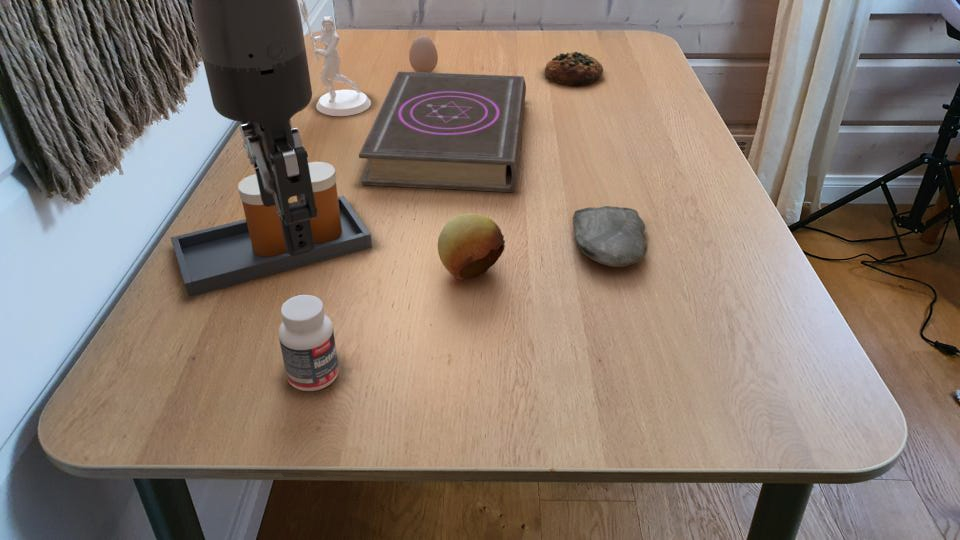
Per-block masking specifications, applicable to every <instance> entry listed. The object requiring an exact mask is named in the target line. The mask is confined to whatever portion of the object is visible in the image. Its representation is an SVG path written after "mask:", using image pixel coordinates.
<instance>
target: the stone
mask: <svg viewBox="0 0 960 540" xmlns="http://www.w3.org/2000/svg"><path fill="white" fill-rule="evenodd" d="M572 225H573V226H572V228H573V236H574V241H575V243H576V245H577V247H578V249H579V250H580V251H581V252H582V254H584V255H585V256H586V257H587V258H589V259H591V260H592V261H594V262H596V263H598V264H601V265H603V266H608V267H615V268H623V267H630V266H632V265H635V264H636V263H639V262H640V261H642V260H643V259H644V257H645V256H646V252H647V250H648V245H647V243H646V242H645V240H644V239H645V230H646V225H645V222H644V221H643V219H642V218H641V217H640V216H639V213H638V211H637V210H636V209H634V208H629V207H620V206H610V205H605V206H600V207H585V208H580V209H577V210H575V211H574V213H573V217H572Z"/></svg>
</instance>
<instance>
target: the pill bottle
mask: <svg viewBox="0 0 960 540" xmlns="http://www.w3.org/2000/svg"><path fill="white" fill-rule="evenodd" d="M324 308H325V307H324V303H323V302H322V300H321V299H320V298H319V297H317V296H315V295H312V294H298V295H295V296H292V297H290V298H288V299H287V300H285V301H284V302H283V304H282V305H281V307H280V314H281V320H282V322H281V324H280V326H279V329H278V340H279V346H280V350H281V355H282V360H283V365H284V370H285V375H286V379H287V381H288V383H289V384H290V385H291V386H292V387H293V388H295V389H297V390H299V391H303V392H315V391H319V390H322V389H324V388H327V387H328V386H331V384H332V383H334V381H335V380H336V379H337V377H338V375H339V373H340V372H339V371H340V367H339V359H338V352H337V345H336V339H335V331H334V327H333V323H332V320H331V318H329V317H328V316H327V314H326V313H325V309H324Z"/></svg>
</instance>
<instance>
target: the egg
mask: <svg viewBox="0 0 960 540" xmlns="http://www.w3.org/2000/svg"><path fill="white" fill-rule="evenodd" d="M437 49H438V48H437V46H436V44H435V43H434V42H433V40H432V39H431V38H430V37H429V36H427V35H424V34H423V35H419V36H417V37H415V39H414V40H413V41H412V43H411V45H410V48H409V54H408V55H409V56H408V59H409V64H410V66H411V68H412V69H413V71H414V72H425V73H433V71H434V70H435V69H436V67H437V64H438V62H439V61H438V59H439V56H438V50H437Z"/></svg>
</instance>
